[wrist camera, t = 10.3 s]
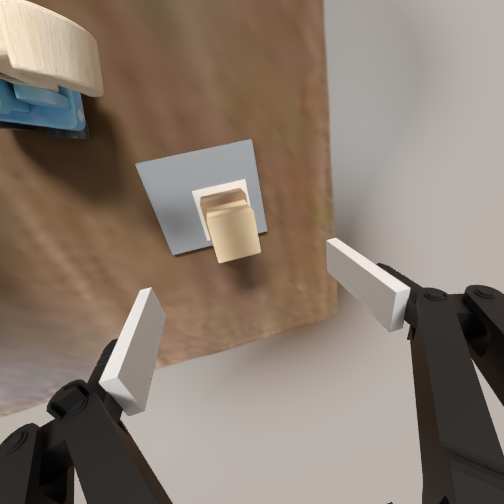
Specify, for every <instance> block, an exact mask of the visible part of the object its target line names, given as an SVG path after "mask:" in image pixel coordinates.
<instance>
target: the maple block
mask: <svg viewBox="0 0 504 504" xmlns="http://www.w3.org/2000/svg"><path fill="white" fill-rule="evenodd" d="M207 224H208V228H209V231H210V235H211V238H212V242H213V245H214V249H215V252H216V255H217V259H218V262H219V263H222V262H226V261H230V260H234V259H238V258H242V257H246V256H250V255H254V254H258V253H261V249H260V244H259V238H258V233H257V227H256V221H255V216H254V211H253V210H252V208H251V207H250V206H249V205H248V203H247V202H246V201H245V200H240V201H236V202H231V203H227V204H222V205H218V206H214V207H209V208H207Z"/></svg>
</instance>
